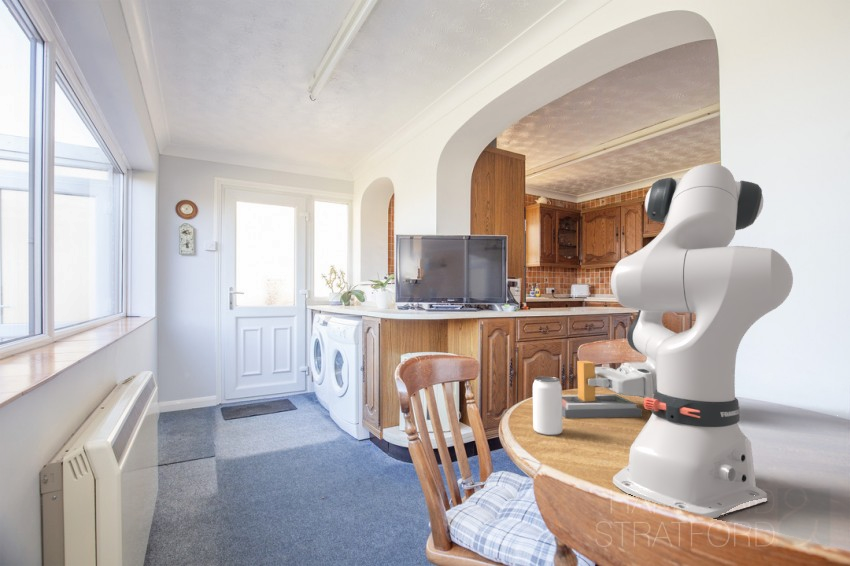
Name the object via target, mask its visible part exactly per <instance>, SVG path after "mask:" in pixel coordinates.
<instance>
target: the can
mask: <svg viewBox="0 0 850 566" xmlns="http://www.w3.org/2000/svg"><path fill="white" fill-rule="evenodd" d="M560 380H561V379H560V378H558V377H554V376H553V377H552V376H545V375H544V376H543V375H542V376H536V377H534V381H533V383H532V425H533V426H532V428H533V429H532V430H534V432H535V433H538V435H539V434H540V435H544V436H558V435H561V433H563V416H562V395H563V390H562V389H563V388H562V384H561V382H560Z"/></svg>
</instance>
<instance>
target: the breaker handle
mask: <svg viewBox="0 0 850 566" xmlns="http://www.w3.org/2000/svg"><path fill="white" fill-rule="evenodd" d="M576 362H577V364H576V366H577V371H576V372H577V395H578V396H575V397H573V400H574V401H575V402H577V403H601V402H600V401H598V400H597V399H595V395H596V386H589V385H588V384H587V383H586V382H587V381H586V379H587V378H595V367H596V365H595V364H596V363H595V362H592V361H589V360H577V361H576Z"/></svg>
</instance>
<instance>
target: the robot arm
mask: <svg viewBox="0 0 850 566" xmlns="http://www.w3.org/2000/svg"><path fill="white" fill-rule="evenodd" d="M763 207H764V197H763V190H762V188H761V186H760V185H759V184H758V183H755V182H752V181H746V180H740V181H736V180H735V178H734V175H733V173H732V172H731V170H729V169H728V168H727V167H726V166H723V165H721V164H719V163H718V164H717V163H703V164H699V165H696V166H695V167H692V168H691V169H689V170H688V171H686V173H685V174H683V176H682V177H681V178H673V177H666V178H661V179H658V180H656V181H655V182H653V183H652V185H651V187H649V189H648V191H647V193H646V196H645V199H644V208H645V212H646V217H648V218H649V220H650V221H652V222H655V223H660V224H664V225H663V228H662V229H661V231H660V232H659V233H658V234H657V236H656V237H654V238H653V239H652V240H651V241H650V242H649V243H648V244H646V245H645V246H644V247H641V248H640V249H639V250H637V251H636V252H634V253H632V254H629V255H628V256H626V257H623V258H621V259H620V260H619V261H618V262H617V263H616V264H615V266H614V268H613V269H612V272H611V276H610V290H611V292H612V295H613V297H614V299H615V300H616V301H617V302H618V303H619V305H620V306H622V307H623V308H628V309H632V310H637V311H638V312H637V315H636V317H635V319H634V320H633V322H632V323H631V325H630V327H629V328H628V331H627V335H626V337H627V343H628V344H629V347H630V348H631V349H633V350H634V351H636V352H637V353H639V354H641V355H643V356H645V357H646V361H644V362H623V363H622V364H621V365H620V366H619V367H617V368H616V369H615V368H612V367H608V366H595V378H587V379H586V381H587V382H586V383H587V384H588V385H589V386H595V387H600V388H604V389H606V390H610V391H611V392H614V393H615V394H617V395H620V396H621V395H622V396H627V397H629V396H630V397H641V398H643V399H644V400H643V407H644V409H646V410H648V411H649V410H650V411H651V415H650V417H649V419H648V420H647V421H646V423H645V424H644V426H643V427H642V429H641V430H640V432H639V433H638V435H637V436H636V438H635V440H633V442H632V444H631V445H630V448H629V455H628V464H627V465H626V466H624V467H623V468H622V469H621V470H620V471H618V472H617V473H616V474H615V475H613V477H612V483H613V485H614V486H615V487H617V488H618V489H620V491H623V492H624V493H626V494H628V495H629V494H631V495H633V496H636V497H640V498H642V499H645V500H648V501H652V502H655V503H658V504H663V505H667V506H671V507H674V508H677V509H682V510H685V511H688V512H692V513H695V514H699V515H703V516H707V517H712V518H713V519H715V518H719V516H720V515H721V514H722V513H726V512H727V511H729V510H730V509H732V508H734V507H736V506H738V505H740V504H743V503H746V502H749V501H753V500H758V499H762V498H768V493H766V491H764V490H763V489H761V488H759V487H758V486H756V477H755V468H754V458H753V457H754V456H753V450H752V443H751V440H750V439H749V438H748V437H747V436H746V435H745V433H744V432H743V431H742V430H741V428H740V426H739V424H738V423H739V422H740V413H741V409H740V404H739V399H738V398H737V397H736V390H735V389H736V387H735V385H736V383H735V381H736V379H735V378H736V377H735V375H736V361H737V360H736V359H737V355H738V354H737V353H738V350H739V347H740V344H741V343H742V342H741V341H742V340H743V338H744V336H745V335H746V334H747V332H748V331H749V329H750V328H751V327H752V326H753V325H754V324H755V323H756V322H758V320H760V319H761V318H763V317H764V316H765V315H767V314H768V313H771V312H772V311H773V310H775V309H777V308H778V307H780V306H781V305H782V304H783V303H784V302H785V301H786V300H787V298H788V296H789V295H790V294H791V290H792V287H793V283H794V277H793V276H794V275H793V272H792V268H791V266H790V264H789V263H788V261H787V260H786V259H785V258H784V256H782V254H780V253H779V252H778V251H777V250H775V249H773V248H768V247H767V248H766V247H759V246H758V247H757V246H755V247H754V246H744V245H733V246H732V245H731V246H729V245H730V244H731V243H732V241H733V240H734V237H735V235H736V231H740V230H744V229H746V228H748V227H750V226H751V225H753V224H754V222H755V221H756V220H757V218H758V217H759V216H760V215H761V213H762V210H763ZM665 313H682V314H683V313H689V314H694V315H695V322H694V324H693V326H691V328H688V329H687V330H684V331H681V332H678V333H677V332H675V331H672V330H670V329H669V328H667V327H665V326H664V324H663V316H664V314H665ZM631 495H630V496H631ZM754 495H755V496H754ZM633 496H632V497H633ZM720 517H721V516H720Z"/></svg>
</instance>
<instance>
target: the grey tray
mask: <svg viewBox="0 0 850 566" xmlns="http://www.w3.org/2000/svg"><path fill="white" fill-rule="evenodd" d="M575 396H578V394H566V395H565V394H562V418H564V419H584V418H585V419H588V418H591V419H592V418H595V419H596V418H597V419H598V418H599V419H600V418H639V417H640V418H642V417H643V416H642V415H643V414H642V413H643V412H642V408H641V407H638V406H637V403H635V402H634V401H631V400H629V399H627V398H625V397H623V396H621V395H619V394H617V393H615V394H595V399H597V400H598V401H600V402H601V403H577V402H575V401H574V400H573V397H575Z"/></svg>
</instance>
